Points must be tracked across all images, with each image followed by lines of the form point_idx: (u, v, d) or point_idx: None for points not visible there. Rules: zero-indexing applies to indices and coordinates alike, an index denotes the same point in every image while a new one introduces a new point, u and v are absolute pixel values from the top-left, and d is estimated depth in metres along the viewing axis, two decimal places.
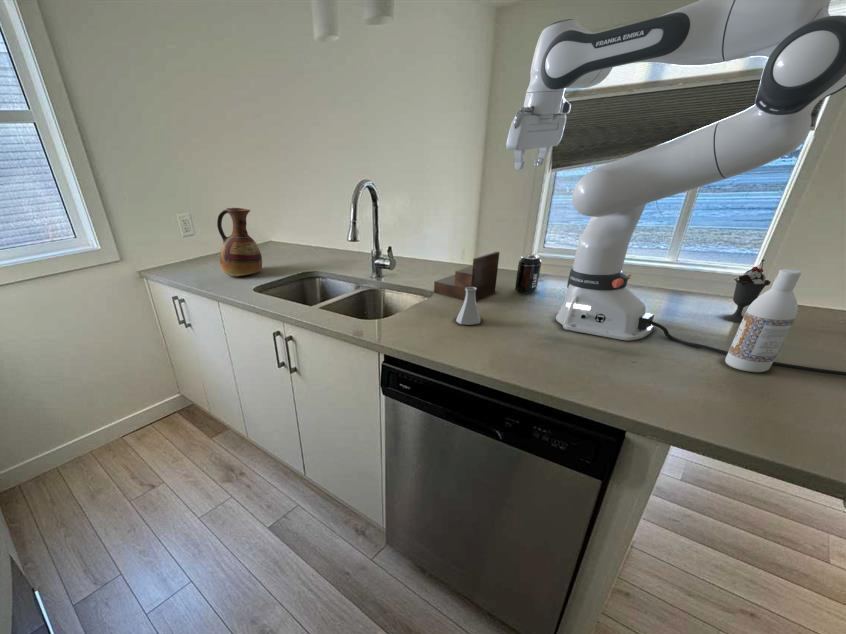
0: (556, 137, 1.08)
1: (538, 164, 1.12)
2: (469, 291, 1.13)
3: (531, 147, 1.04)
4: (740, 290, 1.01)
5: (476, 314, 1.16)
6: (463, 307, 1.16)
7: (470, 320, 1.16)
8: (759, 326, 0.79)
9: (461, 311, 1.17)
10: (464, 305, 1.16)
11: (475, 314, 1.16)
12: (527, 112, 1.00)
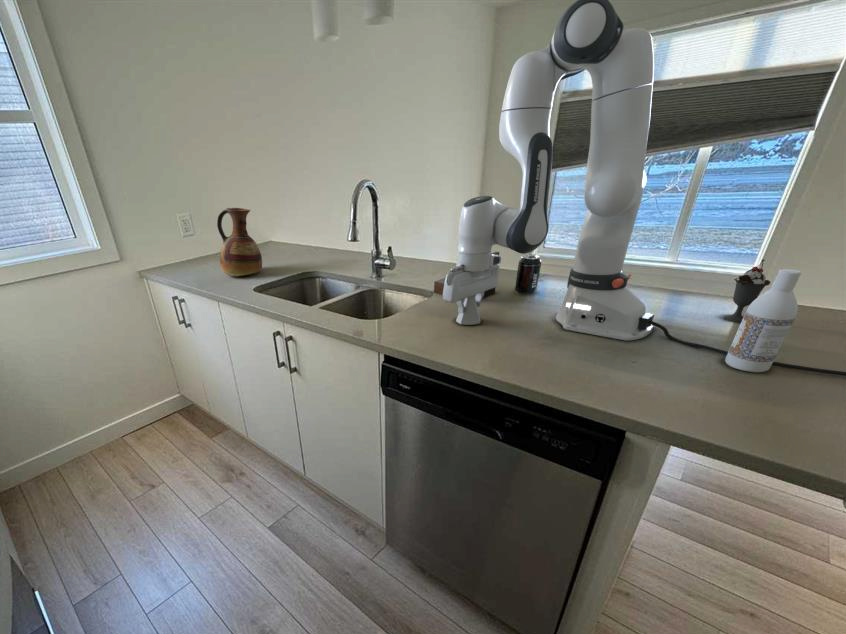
0: (492, 281, 1.16)
1: None
2: None
3: (467, 297, 1.12)
4: (740, 290, 1.01)
5: (476, 314, 1.16)
6: None
7: (470, 320, 1.16)
8: (759, 326, 0.79)
9: None
10: (464, 305, 1.16)
11: (475, 314, 1.16)
12: (458, 271, 1.08)
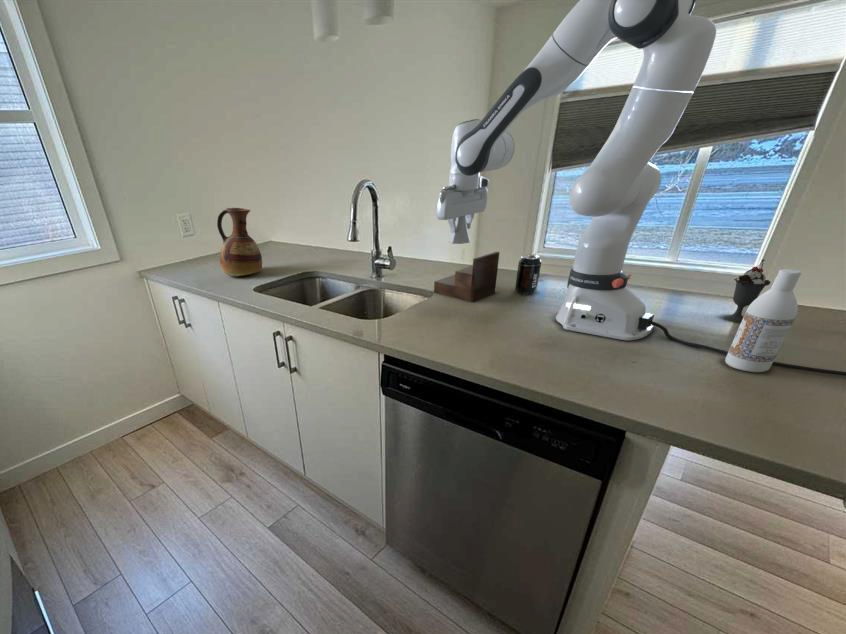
0: (481, 205, 1.29)
1: None
2: None
3: (458, 216, 1.24)
4: (740, 290, 1.01)
5: (466, 234, 1.28)
6: None
7: (461, 239, 1.28)
8: (759, 326, 0.79)
9: None
10: None
11: (465, 234, 1.28)
12: (450, 190, 1.20)
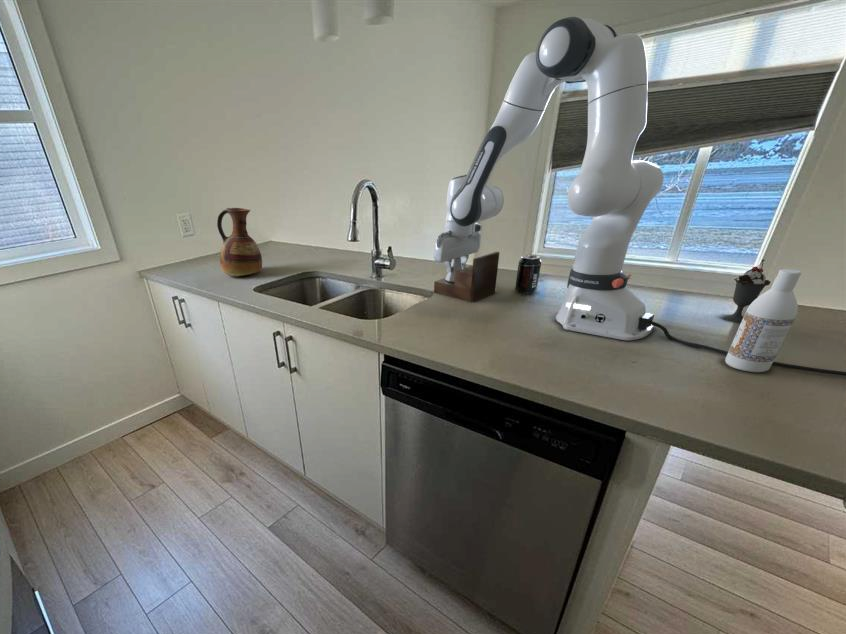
0: (475, 246, 1.41)
1: None
2: None
3: (454, 258, 1.36)
4: (740, 290, 1.01)
5: None
6: None
7: None
8: (759, 326, 0.79)
9: None
10: (452, 265, 1.40)
11: None
12: (446, 235, 1.32)
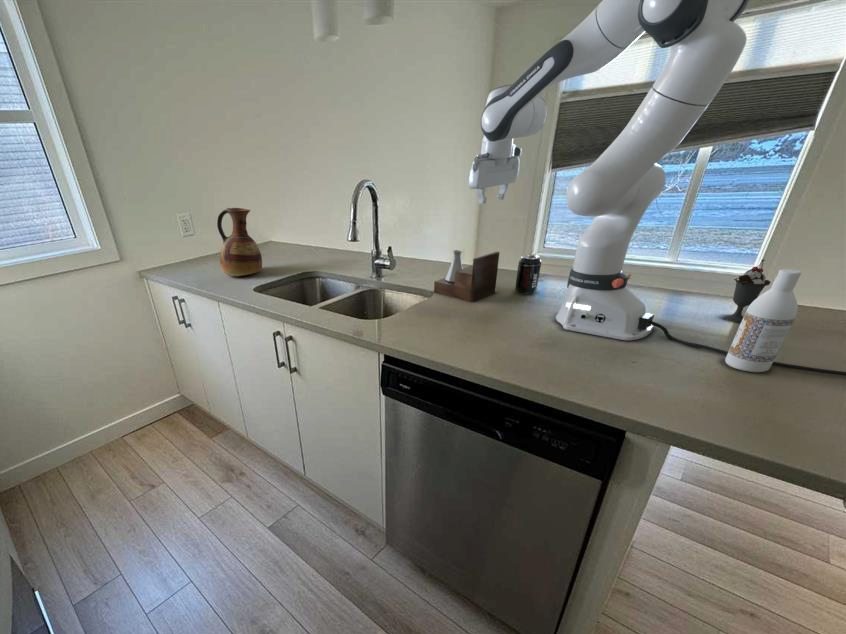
0: (512, 175, 1.27)
1: (500, 198, 1.30)
2: (455, 253, 1.38)
3: (490, 185, 1.23)
4: (740, 290, 1.01)
5: None
6: (451, 267, 1.41)
7: None
8: (759, 326, 0.79)
9: (449, 271, 1.42)
10: (452, 265, 1.40)
11: None
12: (483, 158, 1.19)
